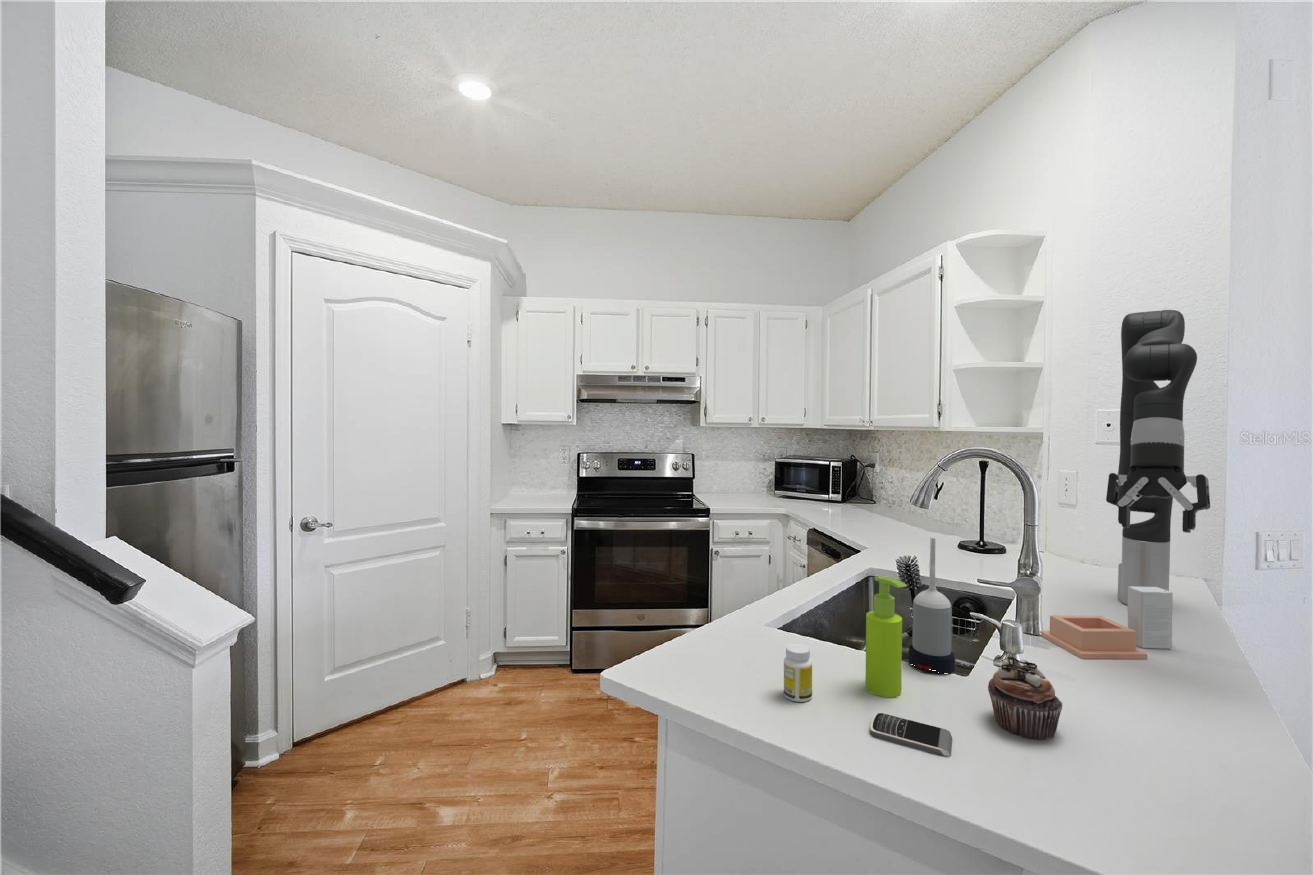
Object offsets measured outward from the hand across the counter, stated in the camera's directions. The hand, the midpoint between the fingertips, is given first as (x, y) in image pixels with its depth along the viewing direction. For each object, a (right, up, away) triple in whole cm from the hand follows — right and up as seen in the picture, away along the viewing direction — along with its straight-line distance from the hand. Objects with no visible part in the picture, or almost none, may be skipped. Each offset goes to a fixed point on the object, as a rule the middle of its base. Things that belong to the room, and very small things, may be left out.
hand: (1155, 529), depth 102 cm
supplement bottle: (-68, -28, -7) cm, 74 cm away
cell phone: (-54, -29, -19) cm, 65 cm away
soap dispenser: (-52, -28, -5) cm, 59 cm away
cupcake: (-35, -28, -16) cm, 48 cm away
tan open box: (-1, -27, +13) cm, 30 cm away
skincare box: (+12, -27, +14) cm, 33 cm away
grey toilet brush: (-39, -27, +5) cm, 48 cm away
